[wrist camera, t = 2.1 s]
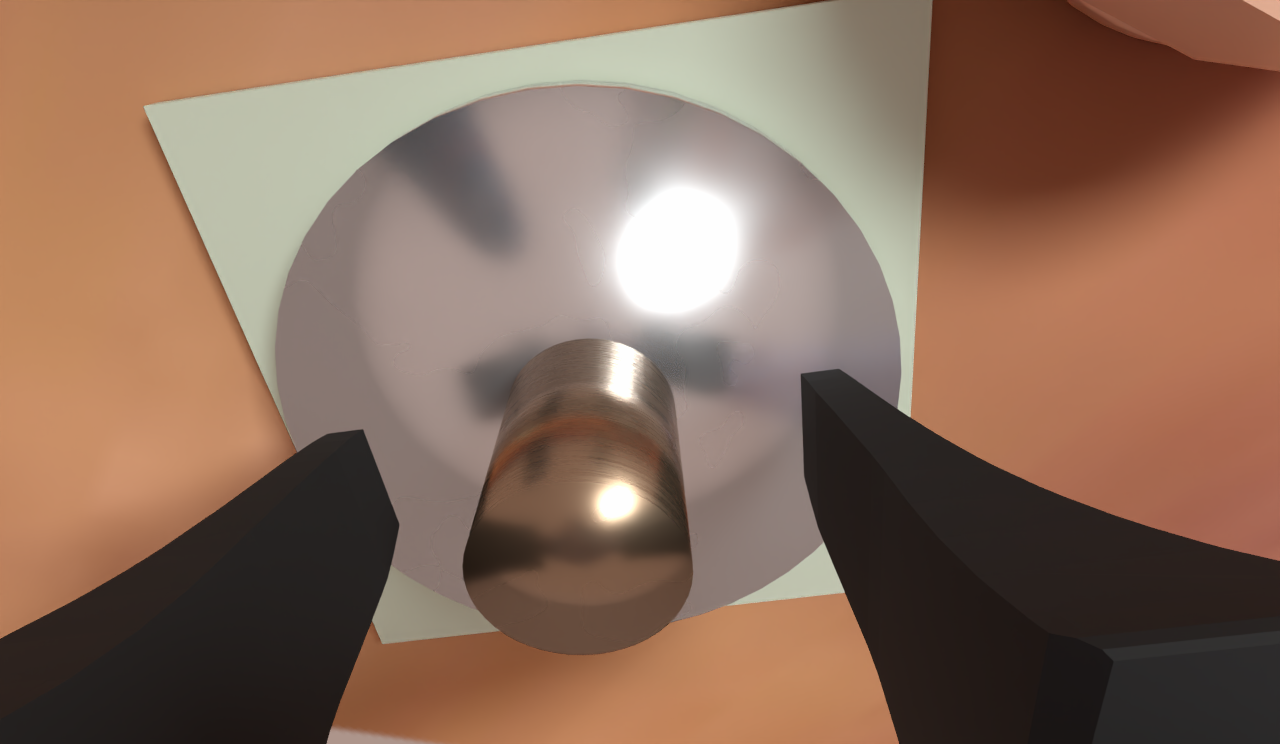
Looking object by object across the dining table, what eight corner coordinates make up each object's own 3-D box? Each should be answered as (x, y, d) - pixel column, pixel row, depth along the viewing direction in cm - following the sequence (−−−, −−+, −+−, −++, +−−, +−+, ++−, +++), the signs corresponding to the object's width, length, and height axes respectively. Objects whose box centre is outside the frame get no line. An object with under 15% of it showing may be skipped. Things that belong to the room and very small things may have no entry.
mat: (895, 573, 16) (901, 585, 16) (387, 630, 17) (382, 644, 17) (923, -15, 11) (933, -14, 10) (158, 102, 11) (142, 106, 11)
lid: (881, 572, 16) (972, 785, 12) (398, 626, 16) (319, 848, 12) (895, 27, 11) (1070, 57, 6) (189, 136, 11) (-75, 227, 7)
